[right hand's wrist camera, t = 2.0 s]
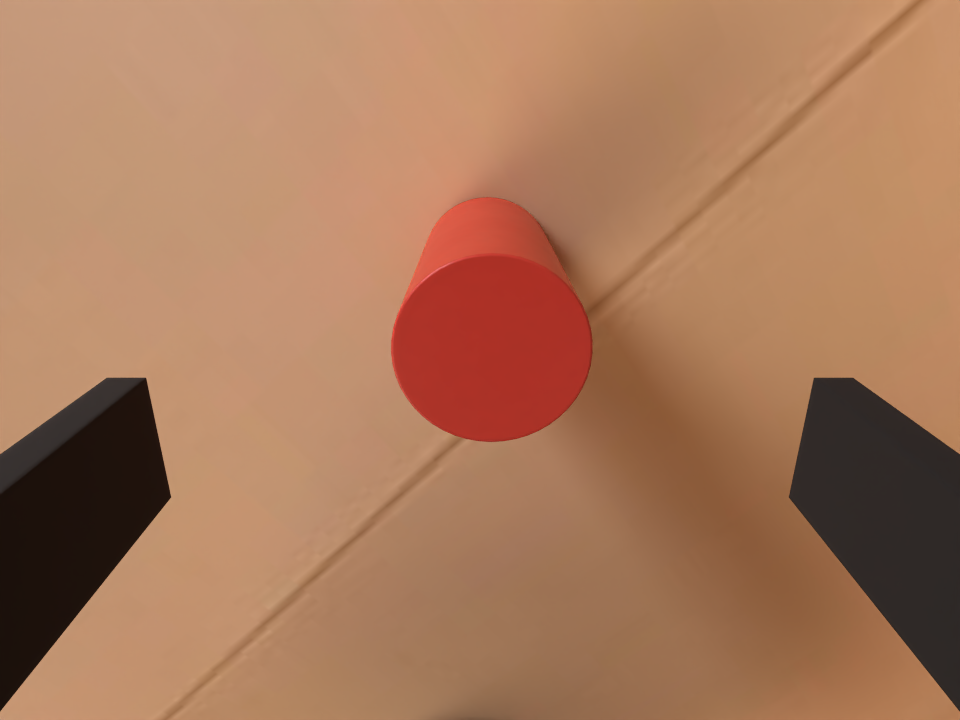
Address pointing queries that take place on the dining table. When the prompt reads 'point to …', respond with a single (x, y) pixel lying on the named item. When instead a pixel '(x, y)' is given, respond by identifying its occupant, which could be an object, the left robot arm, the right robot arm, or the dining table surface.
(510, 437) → the can
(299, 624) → the dining table surface
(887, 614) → the right robot arm
